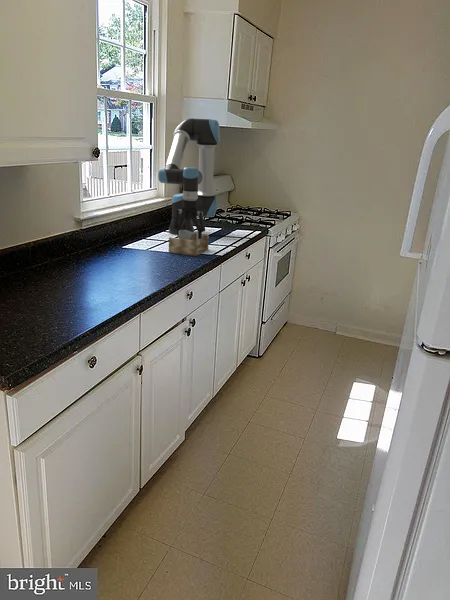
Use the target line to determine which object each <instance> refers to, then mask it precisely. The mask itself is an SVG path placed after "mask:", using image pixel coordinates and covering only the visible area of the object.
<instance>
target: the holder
mask: <svg viewBox="0 0 450 600" xmlns="http://www.w3.org/2000/svg"><path fill="white" fill-rule="evenodd" d="M209 238H210V236H209V235H208V234H202V238H201V239H200V245H198V241H194V240H187V239H179V237H169V238H168V253H169V254H170V253H171V254H177V255H185V256H193V257H197V256H199V255H201V254H203V253H204V252H207V251H208V250H209ZM197 245H198V246H197Z"/></svg>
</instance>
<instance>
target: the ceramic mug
mask: <svg viewBox="0 0 450 600" xmlns="http://www.w3.org/2000/svg"><path fill="white" fill-rule="evenodd" d="M196 237H197V232H195V231H194V232H190V231H187V230H183V231H181V233H180V235H179V236H178V238H179V239H187V240H194V241H196Z"/></svg>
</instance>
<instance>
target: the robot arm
mask: <svg viewBox="0 0 450 600" xmlns="http://www.w3.org/2000/svg"><path fill="white" fill-rule="evenodd" d="M174 129H175V130H173V134H172V139H173V140H172V143H171V147H170V150H169V152H168V153H169V155H168V157H167V160H166V163H165V167H160V168H159V170H158V175H157V176H158V177H157V178H158V181H159V183H161V184H166V185H167V184H169V185H171V184H172V185H182V192H181V193H176V194H173V196H172V199H171V201H172V202H171V206H172V207H171V221H170V224H169V227H168V233H169V234H172V235H176V236H177V237H179V235H180V233H181V231H183V230H187V231H190V232H194V233H195V229H196V231H197V232H196V234H197V237H196V241H198V245H200V239H201V238H202V235H203V234H202V233H203V232H205V231H206V224H205V220H204V218H213V217H215V215H216V212H217V208H218V205H219V204H218V202H219V198H218V197H216V193H215V192H214V173H215V172H214V166H215V148H216V147H217V146H218V143H220V142H221V128H220V124H219V122H218V120H217V119H210V118H208V119H207V118H187V119H185V120H183V121H182V122H180V124H178V126H177V127H175V128H174ZM191 141H193V142H196V146H197V147H198V167H193V166H192V167H191V166H186V167H184V168H183V169H182V168H181V167H182V162H183V159H184V156H185V152H186V148H187V145H188V144H189V143H190V142H191ZM198 219H199V220H198ZM193 223H194V224H193ZM194 225H195V228H194ZM198 245H197V246H198Z"/></svg>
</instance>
